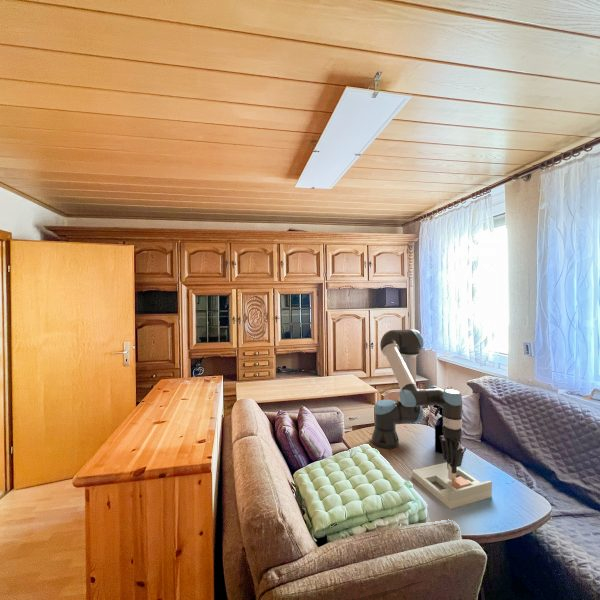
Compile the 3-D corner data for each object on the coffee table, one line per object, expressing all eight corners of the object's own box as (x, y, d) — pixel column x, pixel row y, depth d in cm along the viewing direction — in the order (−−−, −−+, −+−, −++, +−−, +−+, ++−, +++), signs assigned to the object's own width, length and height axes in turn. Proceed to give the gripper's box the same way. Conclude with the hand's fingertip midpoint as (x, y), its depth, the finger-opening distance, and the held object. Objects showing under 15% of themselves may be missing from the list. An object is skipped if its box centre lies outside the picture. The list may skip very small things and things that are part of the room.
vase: (428, 451, 168) (428, 387, 167) (432, 442, 177) (432, 381, 176) (458, 458, 160) (458, 391, 159) (460, 449, 170) (460, 385, 169)
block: (451, 485, 134) (451, 478, 134) (460, 483, 135) (460, 476, 135) (461, 492, 129) (461, 485, 129) (470, 490, 131) (470, 483, 130)
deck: (412, 476, 145) (412, 462, 145) (449, 467, 152) (449, 454, 152) (450, 509, 124) (450, 493, 123) (491, 496, 131) (491, 481, 130)
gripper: (434, 421, 141) (434, 472, 142) (457, 434, 129) (456, 489, 129) (447, 418, 143) (447, 468, 144) (471, 431, 131) (470, 485, 132)
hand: (451, 478), depth 137 cm, fingers closed
